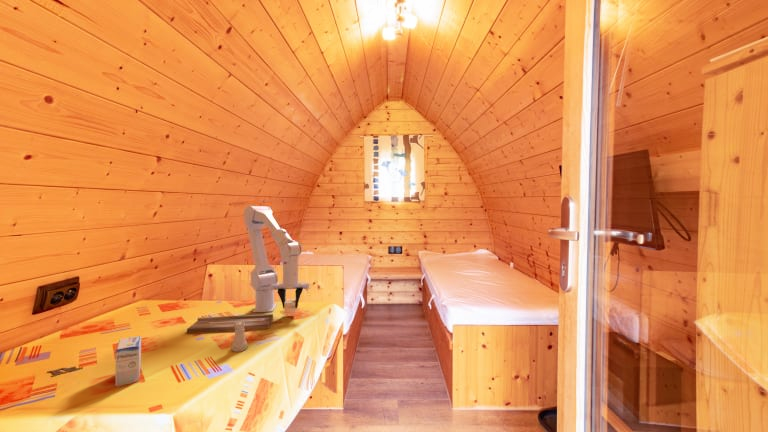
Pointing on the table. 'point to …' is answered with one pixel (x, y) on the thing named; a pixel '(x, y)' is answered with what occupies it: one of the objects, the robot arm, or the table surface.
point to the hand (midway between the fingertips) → (290, 307)
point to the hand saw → (58, 372)
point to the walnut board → (230, 323)
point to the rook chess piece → (239, 337)
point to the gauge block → (290, 306)
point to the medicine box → (128, 361)
